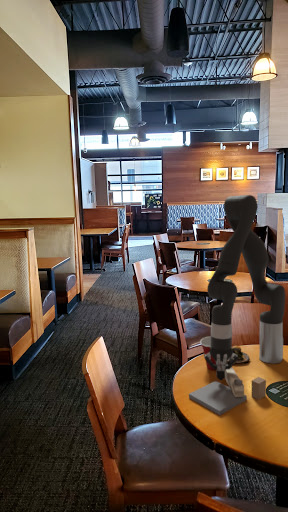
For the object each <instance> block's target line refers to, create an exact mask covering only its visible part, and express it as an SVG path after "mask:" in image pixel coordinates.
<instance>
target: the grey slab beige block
mask: <svg viewBox="0 0 288 512" xmlns="http://www.w3.org/2000/svg"><path fill="white" fill-rule="evenodd" d="M266 387H267V380H266V378H262V377H260V376H257V377H256V378H253V379H252V380H251V396H252V398H253V399H256V400H258V401H261V399H263V398H264V397H266V395H267V389H266ZM188 397H189V398H188V399H190V400H191V401H194V402H196V403H197V404H200V405H201V406H202V407H205V408H206V409H208V410H209V411H211V412H213V413H215V414H217V415H218V416H221V415H223V414H224V413H227V412H228V411H230V410H232V409H233V408H235V407H236V406H239V405H241V404H242V403H245V402H246V401H247V398H248V396H247V395H246V394H244V397H235V396H234V394H233V392H232V390H231V389H230V387H229V386H227V385H225V384H223V383H221V382H218V381H217V380H214V381H212V382H211V383H208V384H206V385H204V386H203V387H200V388H198V389H195V390H194V391H191V392H189V393H188Z"/></svg>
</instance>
